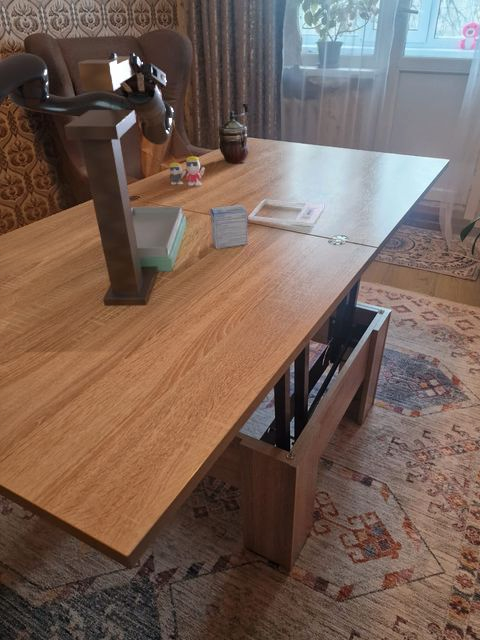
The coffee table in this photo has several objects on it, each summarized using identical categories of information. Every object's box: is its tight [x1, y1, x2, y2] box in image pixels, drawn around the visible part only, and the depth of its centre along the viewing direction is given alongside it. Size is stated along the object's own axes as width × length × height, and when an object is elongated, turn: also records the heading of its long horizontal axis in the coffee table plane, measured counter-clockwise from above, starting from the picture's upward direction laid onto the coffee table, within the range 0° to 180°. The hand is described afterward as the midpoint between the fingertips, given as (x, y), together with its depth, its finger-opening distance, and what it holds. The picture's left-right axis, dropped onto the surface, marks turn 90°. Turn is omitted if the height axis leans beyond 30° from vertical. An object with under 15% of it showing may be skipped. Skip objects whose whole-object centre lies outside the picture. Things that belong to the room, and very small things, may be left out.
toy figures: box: [168, 156, 206, 187], centre depth 154 cm, size 12×4×8 cm, turn 79°
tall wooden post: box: [63, 110, 159, 307], centre depth 89 cm, size 8×14×32 cm, turn 1°
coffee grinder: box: [218, 103, 250, 164], centre depth 175 cm, size 13×15×18 cm
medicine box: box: [209, 204, 249, 250], centre depth 114 cm, size 8×4×9 cm, turn 108°
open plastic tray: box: [104, 206, 187, 272], centre depth 114 cm, size 14×27×5 cm, turn 1°
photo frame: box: [247, 198, 326, 228], centre depth 132 cm, size 15×1×18 cm
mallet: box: [77, 55, 136, 92], centre depth 86 cm, size 5×24×4 cm, turn 1°
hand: (122, 58), depth 92 cm, fingers closed on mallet, 3 cm apart
